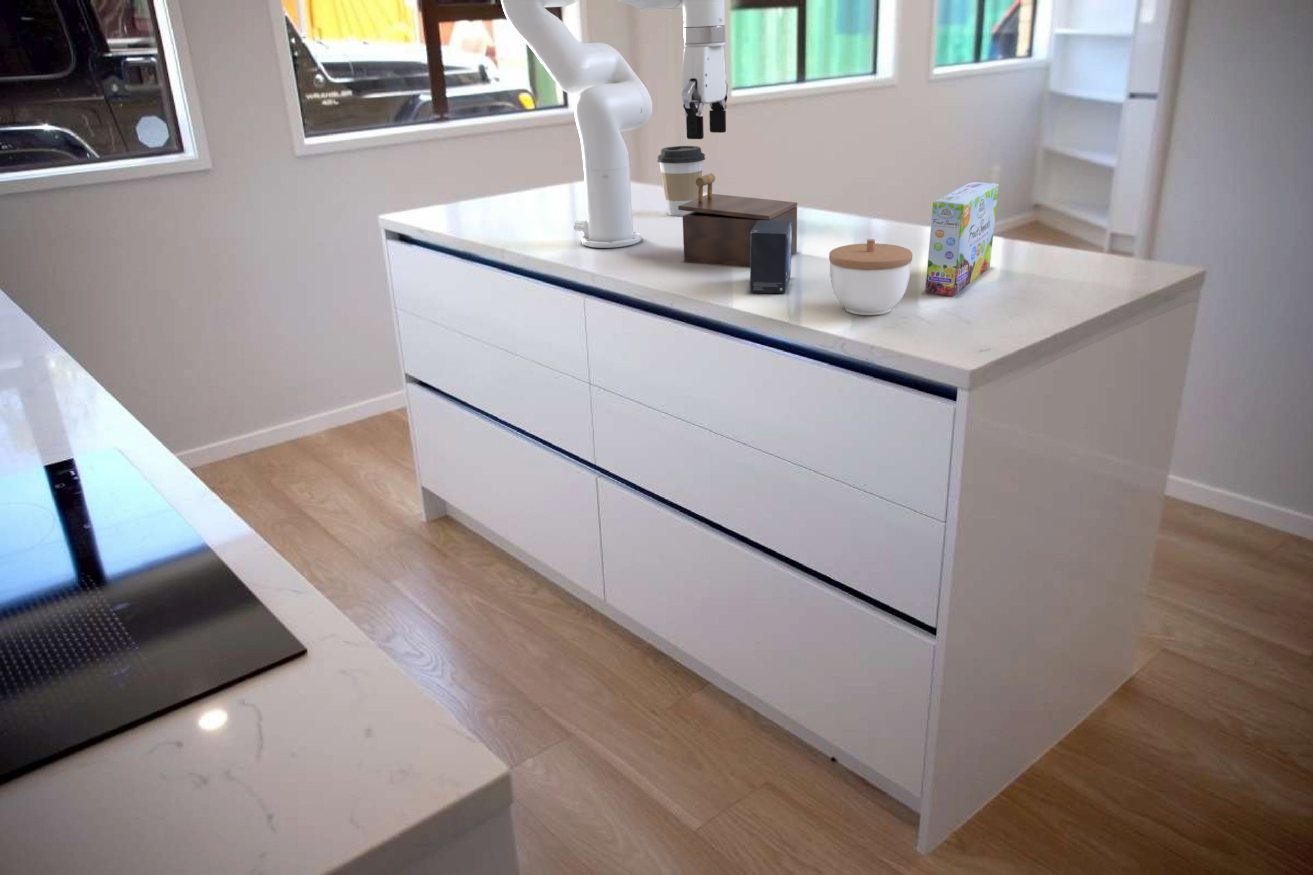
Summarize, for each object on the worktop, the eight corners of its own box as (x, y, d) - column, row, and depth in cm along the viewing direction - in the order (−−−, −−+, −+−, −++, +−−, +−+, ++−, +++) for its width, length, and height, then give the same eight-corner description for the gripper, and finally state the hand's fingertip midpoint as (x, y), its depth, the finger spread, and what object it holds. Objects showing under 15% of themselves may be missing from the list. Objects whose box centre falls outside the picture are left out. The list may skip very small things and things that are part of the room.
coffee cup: (677, 207, 245) (674, 144, 240) (716, 210, 239) (714, 146, 233) (649, 215, 237) (646, 150, 231) (689, 219, 231) (687, 152, 225)
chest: (684, 261, 193) (682, 215, 189) (715, 246, 204) (714, 202, 200) (769, 269, 184) (769, 220, 181) (796, 252, 195) (797, 207, 192)
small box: (787, 294, 168) (787, 232, 164) (748, 294, 169) (748, 232, 165) (792, 278, 177) (792, 219, 173) (755, 278, 179) (755, 219, 174)
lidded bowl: (820, 301, 163) (821, 234, 159) (895, 296, 164) (899, 229, 159) (838, 323, 152) (840, 251, 147) (919, 317, 152) (924, 246, 148)
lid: (678, 210, 189) (678, 180, 187) (710, 197, 200) (710, 168, 198) (768, 220, 181) (770, 189, 179) (797, 206, 192) (798, 177, 190)
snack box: (957, 297, 161) (964, 203, 155) (923, 293, 164) (929, 201, 158) (992, 267, 178) (1000, 181, 172) (961, 265, 181) (967, 180, 175)
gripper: (706, 36, 189) (708, 129, 196) (663, 40, 175) (667, 141, 182) (742, 35, 186) (743, 130, 192) (702, 39, 172) (704, 142, 179)
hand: (706, 135), depth 187 cm, fingers open, 9 cm apart
